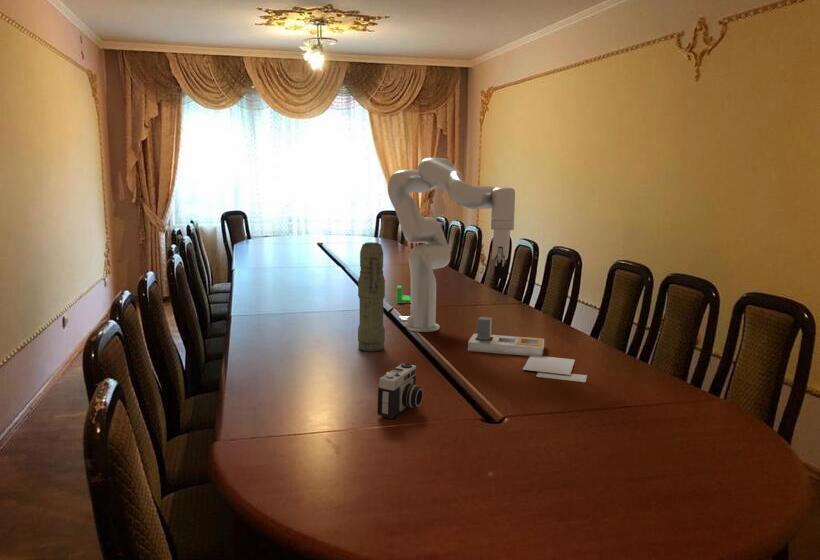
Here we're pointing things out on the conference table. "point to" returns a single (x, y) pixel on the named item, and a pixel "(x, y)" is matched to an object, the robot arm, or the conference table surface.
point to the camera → (398, 391)
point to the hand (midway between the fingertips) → (500, 276)
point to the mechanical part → (402, 296)
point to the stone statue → (371, 298)
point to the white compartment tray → (507, 345)
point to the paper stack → (553, 368)
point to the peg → (484, 328)
